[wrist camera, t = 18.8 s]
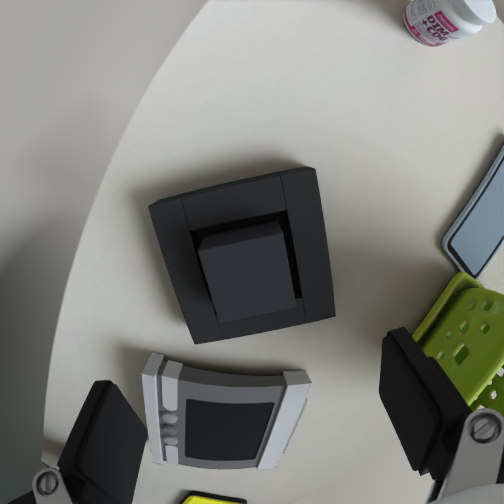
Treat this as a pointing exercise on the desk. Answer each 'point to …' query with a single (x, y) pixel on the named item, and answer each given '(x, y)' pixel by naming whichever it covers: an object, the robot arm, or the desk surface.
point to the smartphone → (479, 224)
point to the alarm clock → (220, 415)
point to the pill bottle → (446, 19)
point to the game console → (209, 499)
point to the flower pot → (467, 340)
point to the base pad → (241, 213)
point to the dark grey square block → (247, 270)
